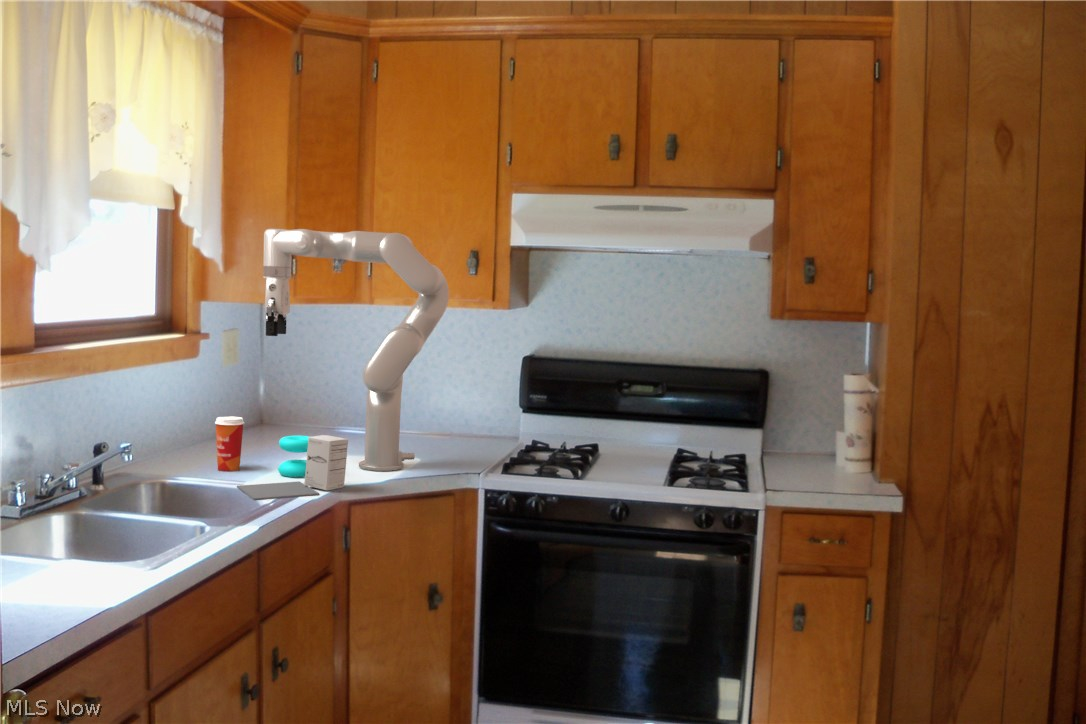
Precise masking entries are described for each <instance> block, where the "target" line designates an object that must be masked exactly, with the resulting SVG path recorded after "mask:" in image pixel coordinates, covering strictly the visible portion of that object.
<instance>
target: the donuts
mask: <svg viewBox="0 0 1086 724" xmlns="http://www.w3.org/2000/svg"><path fill="white" fill-rule="evenodd" d="M308 437H311V436H309V435H299V434H298V435H295V434H294V435H286V436H283V437H281V438H280V439H279V441H278V445H279V447H280V449H282V450H283V451H285V452H288V453H307V449H308ZM306 461H307V459H289V460H285V461H283V462H281V463H280V464H279V466H278V469H277V470H278V473H279V474H280V475H281V476H283V477H288V478H305V473H306Z"/></svg>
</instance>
